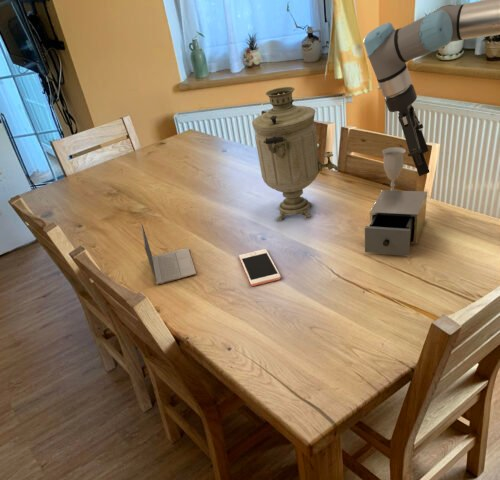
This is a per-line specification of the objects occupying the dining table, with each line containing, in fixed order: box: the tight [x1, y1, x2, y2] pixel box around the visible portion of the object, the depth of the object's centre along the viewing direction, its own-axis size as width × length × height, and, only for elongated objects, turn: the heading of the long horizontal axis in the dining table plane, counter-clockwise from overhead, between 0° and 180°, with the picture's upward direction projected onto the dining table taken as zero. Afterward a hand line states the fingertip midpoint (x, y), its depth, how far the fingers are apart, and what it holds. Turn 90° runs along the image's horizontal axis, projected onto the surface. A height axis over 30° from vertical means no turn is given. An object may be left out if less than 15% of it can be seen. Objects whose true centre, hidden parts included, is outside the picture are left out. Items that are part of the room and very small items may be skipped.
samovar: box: [251, 86, 340, 222], centre depth 161 cm, size 30×26×40 cm
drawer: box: [364, 215, 415, 257], centre depth 144 cm, size 16×12×8 cm
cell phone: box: [238, 248, 282, 287], centre depth 148 cm, size 9×18×1 cm, turn 12°
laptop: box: [140, 222, 197, 285], centre depth 153 cm, size 18×12×13 cm
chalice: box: [381, 146, 406, 191], centre depth 163 cm, size 7×7×18 cm
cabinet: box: [369, 189, 428, 246], centre depth 151 cm, size 16×14×10 cm
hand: (424, 162), depth 139 cm, fingers open, 13 cm apart
